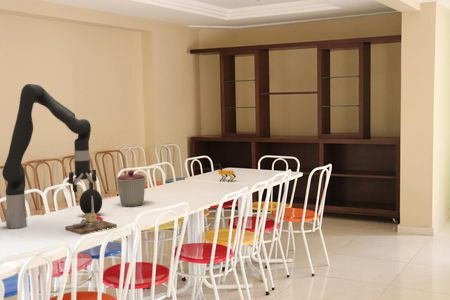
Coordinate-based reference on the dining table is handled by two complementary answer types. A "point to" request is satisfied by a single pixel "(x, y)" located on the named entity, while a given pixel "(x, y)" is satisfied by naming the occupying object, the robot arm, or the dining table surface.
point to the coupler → (90, 217)
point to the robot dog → (225, 173)
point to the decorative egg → (86, 201)
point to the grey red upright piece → (93, 209)
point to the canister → (131, 189)
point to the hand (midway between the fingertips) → (83, 191)
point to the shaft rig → (89, 226)
